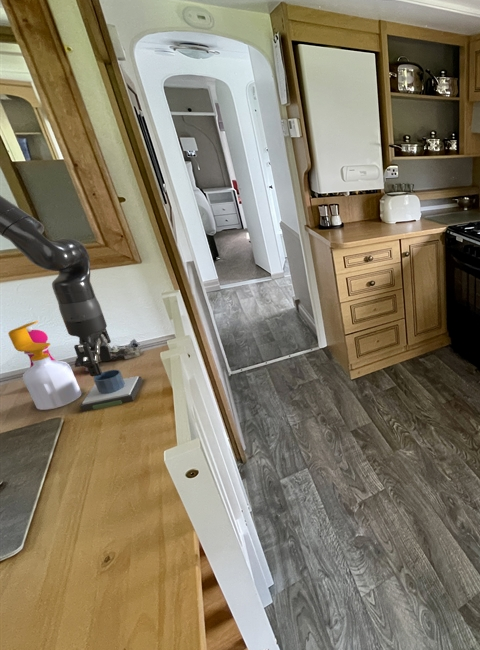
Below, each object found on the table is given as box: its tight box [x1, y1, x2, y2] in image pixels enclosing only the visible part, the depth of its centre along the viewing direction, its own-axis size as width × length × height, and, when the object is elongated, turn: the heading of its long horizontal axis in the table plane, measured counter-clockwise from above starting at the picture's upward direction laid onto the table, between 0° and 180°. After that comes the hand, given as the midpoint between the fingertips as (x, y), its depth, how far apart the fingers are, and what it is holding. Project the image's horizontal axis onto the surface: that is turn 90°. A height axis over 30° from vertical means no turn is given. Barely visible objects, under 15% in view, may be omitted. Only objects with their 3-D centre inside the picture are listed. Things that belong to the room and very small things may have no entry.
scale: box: [79, 375, 144, 412], centre depth 109 cm, size 11×11×3 cm
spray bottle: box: [8, 320, 82, 411], centre depth 102 cm, size 9×9×25 cm
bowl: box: [92, 369, 125, 394], centre depth 108 cm, size 6×6×4 cm
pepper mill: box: [23, 325, 57, 368], centre depth 110 cm, size 7×7×20 cm
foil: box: [73, 338, 141, 372], centre depth 125 cm, size 12×11×15 cm
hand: (102, 367), depth 105 cm, fingers open, 8 cm apart
